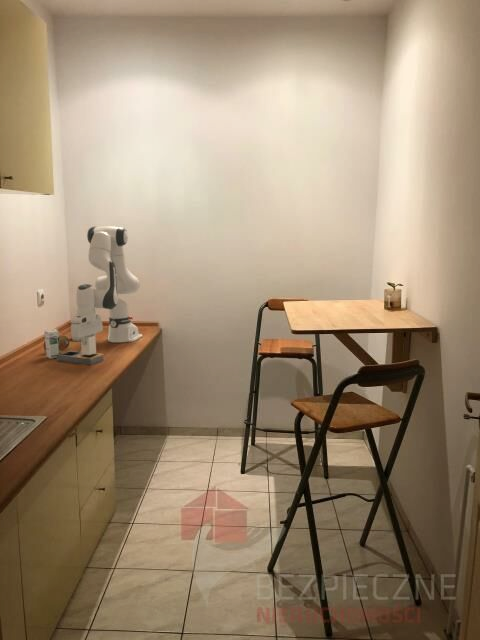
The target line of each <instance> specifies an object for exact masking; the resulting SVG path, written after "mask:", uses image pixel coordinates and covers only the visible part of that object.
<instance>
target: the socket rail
mask: <svg viewBox="0 0 480 640" xmlns="http://www.w3.org/2000/svg"><path fill="white" fill-rule="evenodd" d="M104 360H105V359H104V353H97V352H96V353H94V354H91V355H85V354H82V351H77V350H68V351H64V352H61V354H58V355H57V358H56V361H58V362H64V363H65V362H66V363H73V364H81V365H88V366H91V365H95V364H97V363H101V362H103V361H104Z"/></svg>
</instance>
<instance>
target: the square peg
mask: <svg viewBox="0 0 480 640" xmlns="http://www.w3.org/2000/svg"><path fill="white" fill-rule="evenodd" d="M84 340H85V341H86V345H82V342H81V341H80V344H81V352H82V354H85V355H91V354H94V353H97V343H96V337H95V336H93V335H88V336H85V339H84Z"/></svg>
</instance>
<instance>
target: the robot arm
mask: <svg viewBox="0 0 480 640" xmlns="http://www.w3.org/2000/svg"><path fill="white" fill-rule="evenodd" d="M86 235H87V237H86V238H87V241H88V243H89V248H88V249H89V250H88V257H87V258H88V261H89V264H91V266H93V267H94V268H96V269H98V270H101V271H103V272H105V274H106V275H102V276H98V277H97V279H96V280H95V284H94V286H95V288H94V287H93V285H92V284H88V283H84V284H82V285H81V284H80V285H79V286H77V288H76V305H77V310H76V312H77V314H75V315H74V316H73V317H71V318H70V323H71V324H70V333H71V334H70V335H71V339H72V338H75V339H78V338H80V340H81V341H80V343H81V342H82V345H86V341H85V340H84V339H85V336H88V335H93V336H95V338H96V336H97V334H98V333H101V332H103V330H104V329H103V327H104V326H103V321H102V319H101V315H100V314H96V309H105V310H106V309H107V310H108V311H109V318H108V322H109V325H108V337H107V340H108V342H110V343H127V342H129V343H131V342H135V341H137V340H138V339H140V338H142V337H143V334H141V333H139V328H138V326H136V325H135V324H134V323H132V321H131V320H133V319H134V317H133V315H132V316H131V315H130V316H129V313H130V312H129V305H128V302H127V301H126V300H123V299H121V298H119V295H129V294H134V293H137V292H138V291H139V290H140V286H141V284H140V281H139V278H138V277H137V276H135V275H134V274H133V273H132V272H131V271H130V270H129V268H128V266H127V263H126V257H125V248H124V246H125V245H126V244H127V242H128V238H129V235H128V231H127V230H126V228H125V227H123V226H112V225H111V226H110V225H107V226H106V225H105V226H92V227H90V228H88V230H87V234H86Z"/></svg>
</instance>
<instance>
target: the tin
mask: <svg viewBox="0 0 480 640" xmlns="http://www.w3.org/2000/svg"><path fill="white" fill-rule="evenodd" d="M59 341H60V352H63V351H64V352H65V351H66V350H68V348H69V346H70V339H69V338H68V336H66V335H59ZM43 349H44V351H45V352H46V343H45V341H44V342H43Z"/></svg>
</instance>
